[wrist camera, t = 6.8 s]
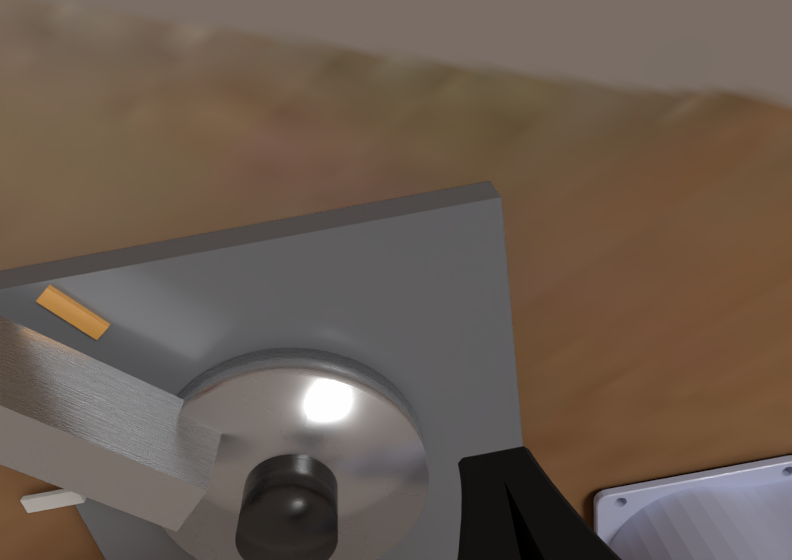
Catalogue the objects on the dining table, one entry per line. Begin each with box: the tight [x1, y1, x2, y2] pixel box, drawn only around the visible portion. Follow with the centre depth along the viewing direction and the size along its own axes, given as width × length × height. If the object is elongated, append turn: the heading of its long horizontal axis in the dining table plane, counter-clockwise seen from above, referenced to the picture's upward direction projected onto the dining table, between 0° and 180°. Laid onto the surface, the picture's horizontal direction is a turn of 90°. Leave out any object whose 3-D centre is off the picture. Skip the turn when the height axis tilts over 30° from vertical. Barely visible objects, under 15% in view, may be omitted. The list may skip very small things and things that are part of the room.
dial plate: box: [0, 181, 523, 560], centre depth 22 cm, size 16×18×2 cm
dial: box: [0, 316, 429, 560], centre depth 19 cm, size 16×9×4 cm, turn 54°
